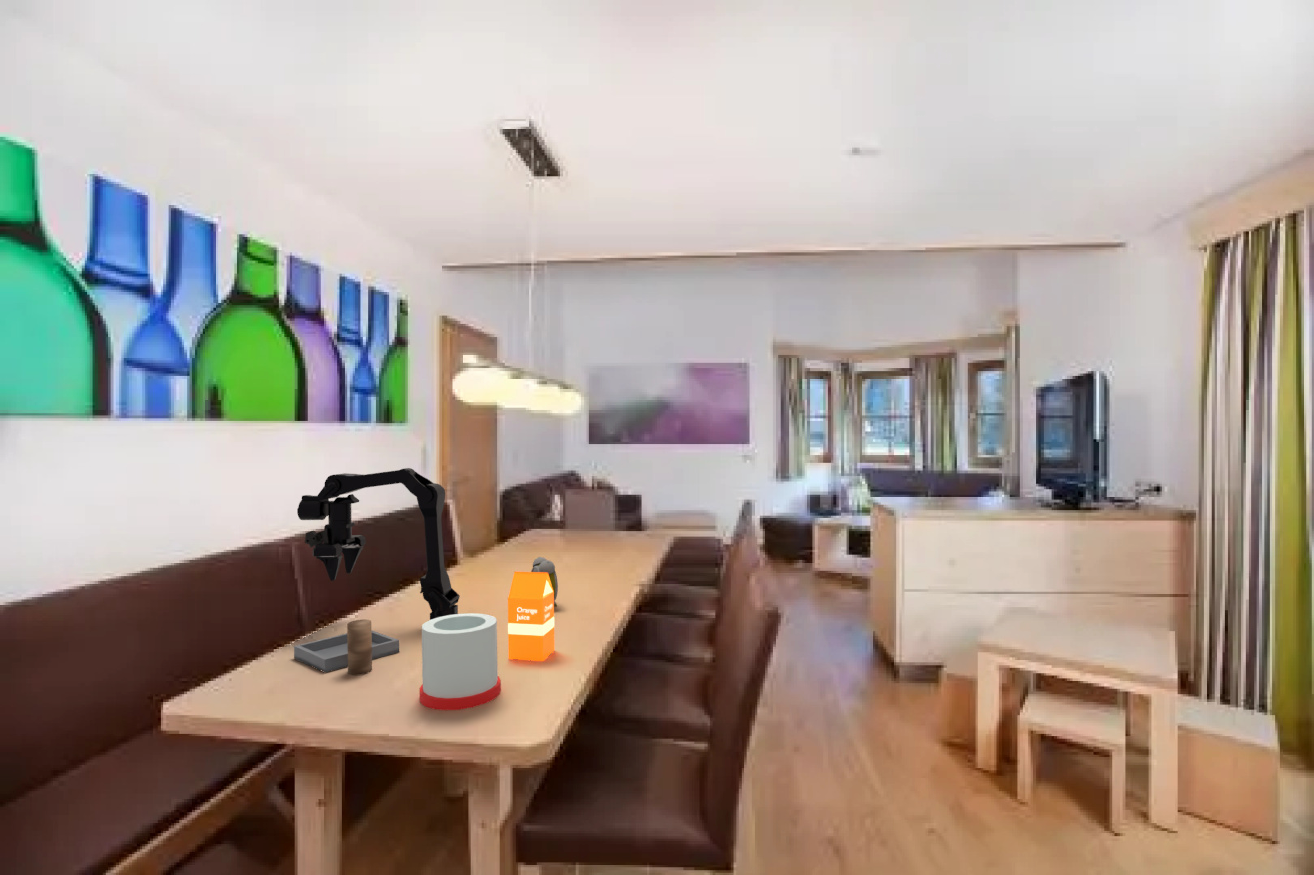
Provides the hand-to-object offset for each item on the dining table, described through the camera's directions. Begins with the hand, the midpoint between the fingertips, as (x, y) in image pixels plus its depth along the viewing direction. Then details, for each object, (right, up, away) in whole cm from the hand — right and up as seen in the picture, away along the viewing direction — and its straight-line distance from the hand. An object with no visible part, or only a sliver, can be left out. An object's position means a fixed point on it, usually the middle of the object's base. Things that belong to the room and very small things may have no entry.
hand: (340, 576), depth 185 cm
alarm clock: (+53, -14, +22) cm, 59 cm away
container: (+46, -15, -46) cm, 67 cm away
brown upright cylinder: (+19, -15, -32) cm, 40 cm away
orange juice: (+56, -14, -22) cm, 62 cm away
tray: (+11, -15, -21) cm, 28 cm away
